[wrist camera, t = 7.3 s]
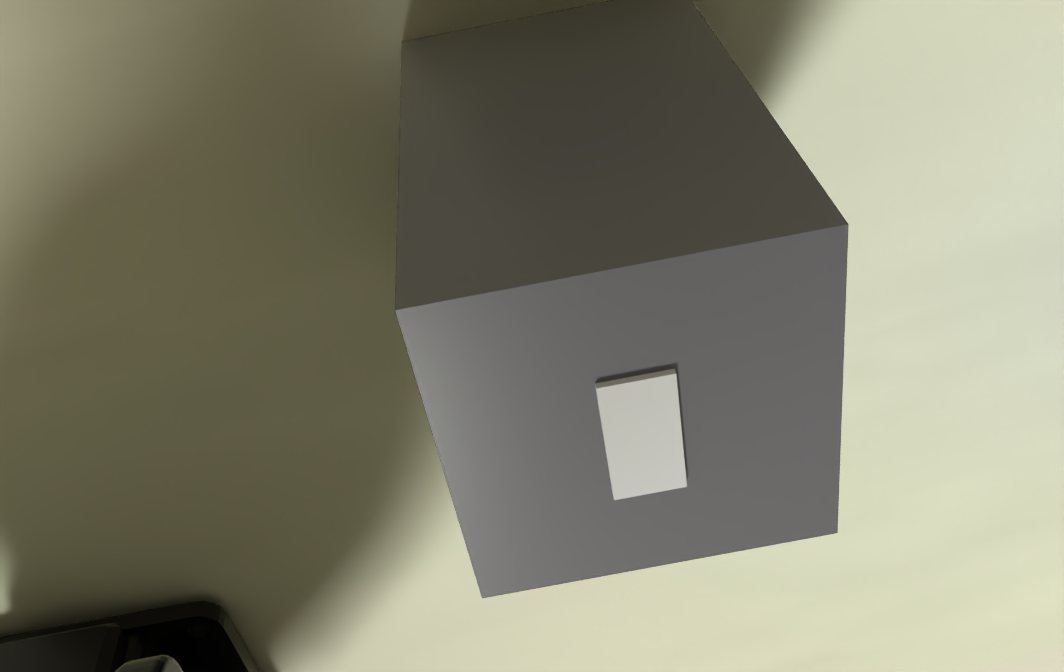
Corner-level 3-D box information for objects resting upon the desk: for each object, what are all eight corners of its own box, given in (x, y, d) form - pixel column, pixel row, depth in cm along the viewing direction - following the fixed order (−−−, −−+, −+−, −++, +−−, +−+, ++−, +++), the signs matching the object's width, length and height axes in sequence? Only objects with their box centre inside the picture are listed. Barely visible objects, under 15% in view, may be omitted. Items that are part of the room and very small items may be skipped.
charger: (698, 229, 17) (839, 537, 11) (459, 274, 17) (482, 603, 12) (680, -14, 15) (851, 229, 9) (401, 41, 15) (395, 315, 9)
